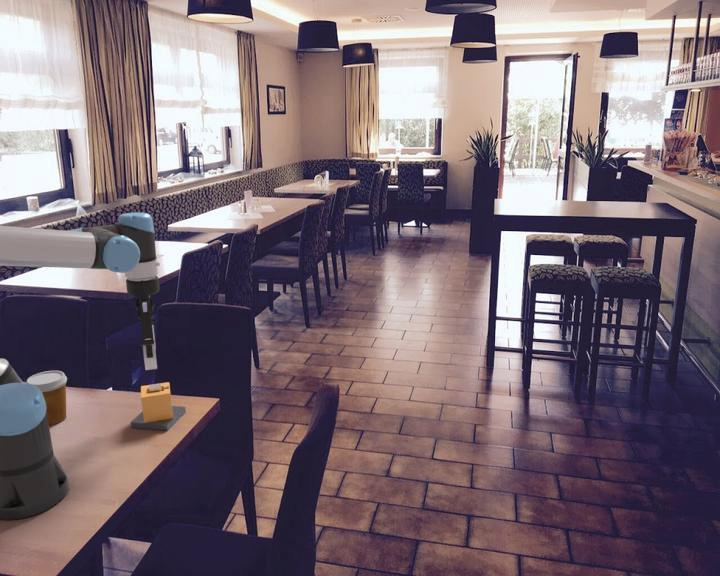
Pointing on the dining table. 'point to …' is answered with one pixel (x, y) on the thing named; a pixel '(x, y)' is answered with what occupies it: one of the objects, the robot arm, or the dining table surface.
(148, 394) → the orange slotted box
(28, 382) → the brown jar with lid
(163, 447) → the dining table surface
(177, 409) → the post plate
